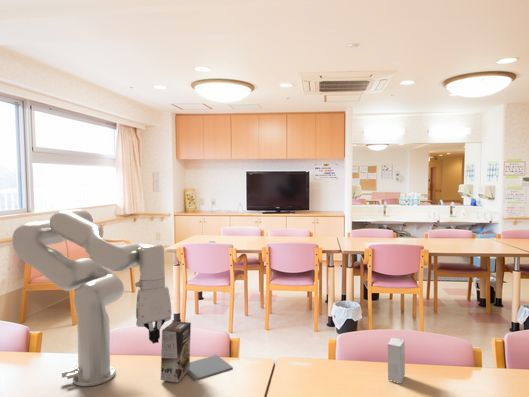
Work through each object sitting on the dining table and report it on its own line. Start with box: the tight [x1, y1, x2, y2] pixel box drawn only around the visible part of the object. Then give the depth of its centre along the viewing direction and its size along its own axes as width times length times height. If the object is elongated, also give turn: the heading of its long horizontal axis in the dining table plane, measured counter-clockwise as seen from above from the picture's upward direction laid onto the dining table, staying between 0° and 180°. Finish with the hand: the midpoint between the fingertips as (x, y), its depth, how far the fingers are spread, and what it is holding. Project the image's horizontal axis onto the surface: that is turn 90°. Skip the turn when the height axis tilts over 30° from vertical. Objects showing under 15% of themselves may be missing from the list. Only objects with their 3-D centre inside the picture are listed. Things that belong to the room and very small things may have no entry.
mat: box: [186, 354, 234, 382], centre depth 127 cm, size 14×12×1 cm
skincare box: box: [387, 337, 406, 384], centre depth 119 cm, size 6×4×12 cm
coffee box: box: [160, 321, 192, 383], centre depth 121 cm, size 9×6×16 cm
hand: (154, 341), depth 117 cm, fingers closed
